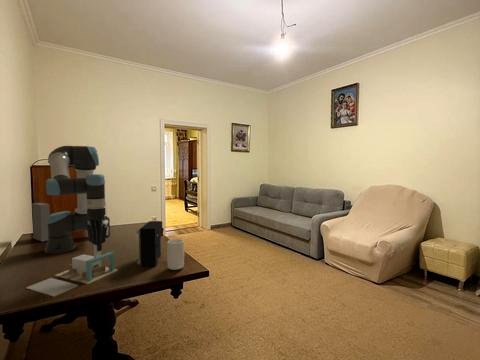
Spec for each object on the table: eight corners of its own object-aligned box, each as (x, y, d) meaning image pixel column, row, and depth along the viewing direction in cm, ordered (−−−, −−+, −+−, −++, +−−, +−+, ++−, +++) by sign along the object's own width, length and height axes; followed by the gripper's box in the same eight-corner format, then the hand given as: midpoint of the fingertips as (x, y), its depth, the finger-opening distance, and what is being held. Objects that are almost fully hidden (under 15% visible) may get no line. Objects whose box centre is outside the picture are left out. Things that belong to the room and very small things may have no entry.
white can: (175, 273, 125) (175, 244, 124) (163, 269, 129) (163, 241, 128) (187, 267, 132) (187, 240, 131) (176, 264, 136) (175, 237, 135)
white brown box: (71, 272, 124) (71, 258, 124) (83, 267, 130) (83, 254, 129) (91, 276, 119) (90, 262, 119) (102, 271, 125) (101, 257, 125)
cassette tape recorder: (52, 239, 180) (50, 204, 178) (41, 241, 175) (40, 205, 173) (43, 236, 187) (42, 202, 186) (33, 238, 182) (31, 203, 181)
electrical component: (146, 255, 150) (145, 221, 148) (164, 254, 151) (163, 220, 149) (136, 267, 132) (135, 228, 131) (157, 266, 133) (156, 228, 132)
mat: (25, 289, 109) (25, 287, 109) (51, 279, 118) (50, 277, 118) (54, 297, 102) (53, 295, 102) (78, 286, 111) (78, 284, 111)
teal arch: (86, 280, 115) (85, 261, 115) (111, 269, 128) (110, 251, 127) (89, 280, 115) (89, 261, 114) (114, 269, 127) (113, 252, 126)
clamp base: (54, 276, 121) (54, 267, 121) (86, 264, 136) (86, 256, 136) (87, 284, 113) (87, 275, 113) (117, 270, 128) (117, 262, 128)
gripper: (78, 207, 119) (80, 258, 120) (99, 209, 114) (100, 262, 115) (93, 205, 126) (94, 253, 127) (113, 207, 121) (114, 256, 122)
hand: (97, 257), depth 121 cm, fingers closed
